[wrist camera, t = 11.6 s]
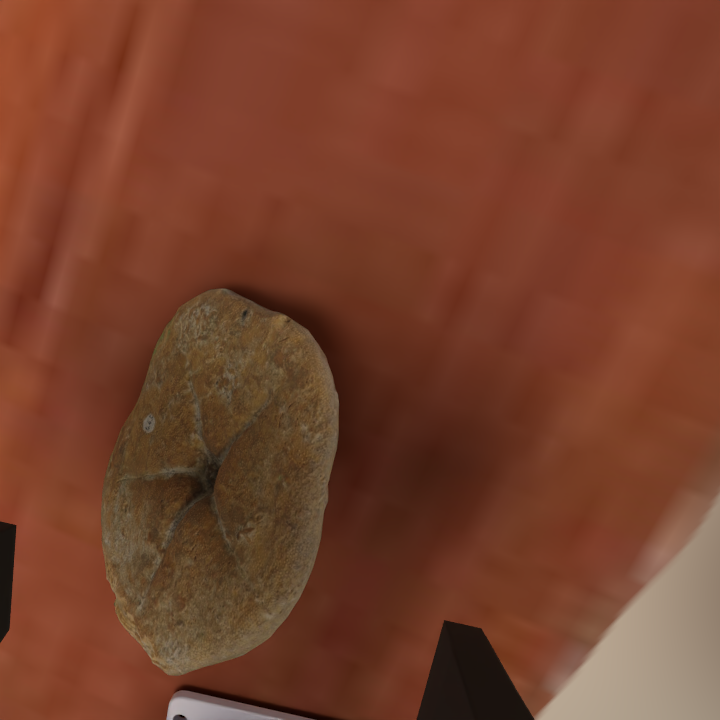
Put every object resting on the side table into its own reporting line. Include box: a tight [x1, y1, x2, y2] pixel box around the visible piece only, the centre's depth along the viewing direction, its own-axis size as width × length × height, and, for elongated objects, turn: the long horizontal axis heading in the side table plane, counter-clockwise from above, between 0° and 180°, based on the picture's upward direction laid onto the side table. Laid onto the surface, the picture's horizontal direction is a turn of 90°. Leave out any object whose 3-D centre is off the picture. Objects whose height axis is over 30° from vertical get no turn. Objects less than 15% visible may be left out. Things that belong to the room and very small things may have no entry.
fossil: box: [101, 288, 339, 676], centre depth 19 cm, size 9×4×10 cm
